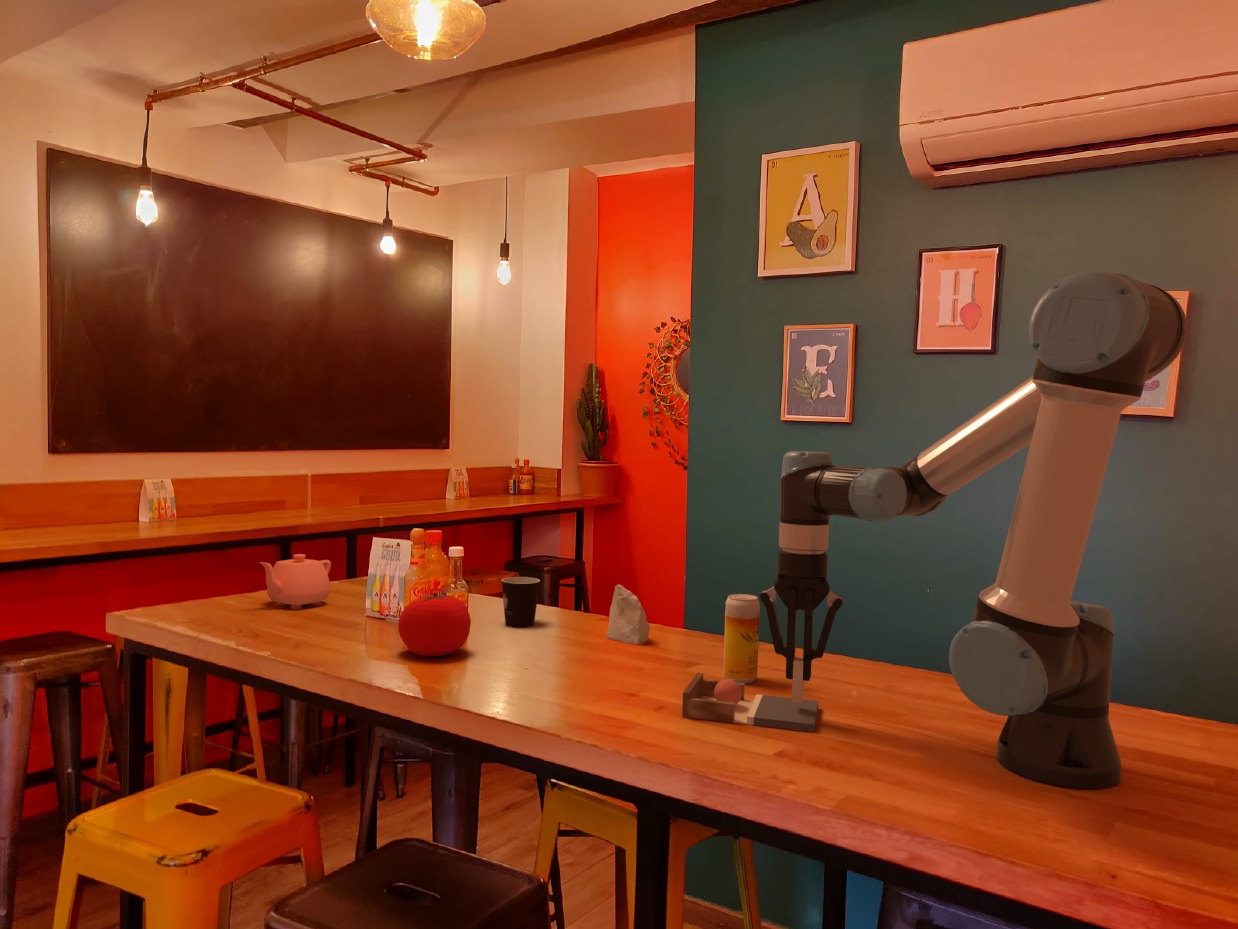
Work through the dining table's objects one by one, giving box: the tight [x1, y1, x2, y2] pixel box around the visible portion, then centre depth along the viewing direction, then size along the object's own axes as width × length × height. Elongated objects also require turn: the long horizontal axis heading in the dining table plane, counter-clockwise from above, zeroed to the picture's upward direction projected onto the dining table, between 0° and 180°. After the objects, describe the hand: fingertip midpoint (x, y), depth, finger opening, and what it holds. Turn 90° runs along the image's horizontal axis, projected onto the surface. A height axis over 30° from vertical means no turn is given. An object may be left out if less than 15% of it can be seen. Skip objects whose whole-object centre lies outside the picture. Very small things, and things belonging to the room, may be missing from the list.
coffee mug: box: [501, 576, 541, 629], centre depth 197 cm, size 12×9×10 cm
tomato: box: [397, 592, 472, 657], centre depth 169 cm, size 13×14×12 cm
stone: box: [606, 584, 651, 646], centre depth 185 cm, size 10×5×12 cm, turn 40°
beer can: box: [722, 593, 761, 684], centre depth 157 cm, size 6×6×15 cm
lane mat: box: [700, 693, 819, 733], centre depth 139 cm, size 20×12×1 cm, turn 74°
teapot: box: [258, 553, 332, 610], centre depth 209 cm, size 13×20×12 cm, turn 147°
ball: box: [714, 678, 742, 705], centre depth 141 cm, size 4×4×4 cm
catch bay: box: [681, 672, 746, 724], centre depth 140 cm, size 8×12×4 cm, turn 164°
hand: (797, 700), depth 137 cm, fingers closed
